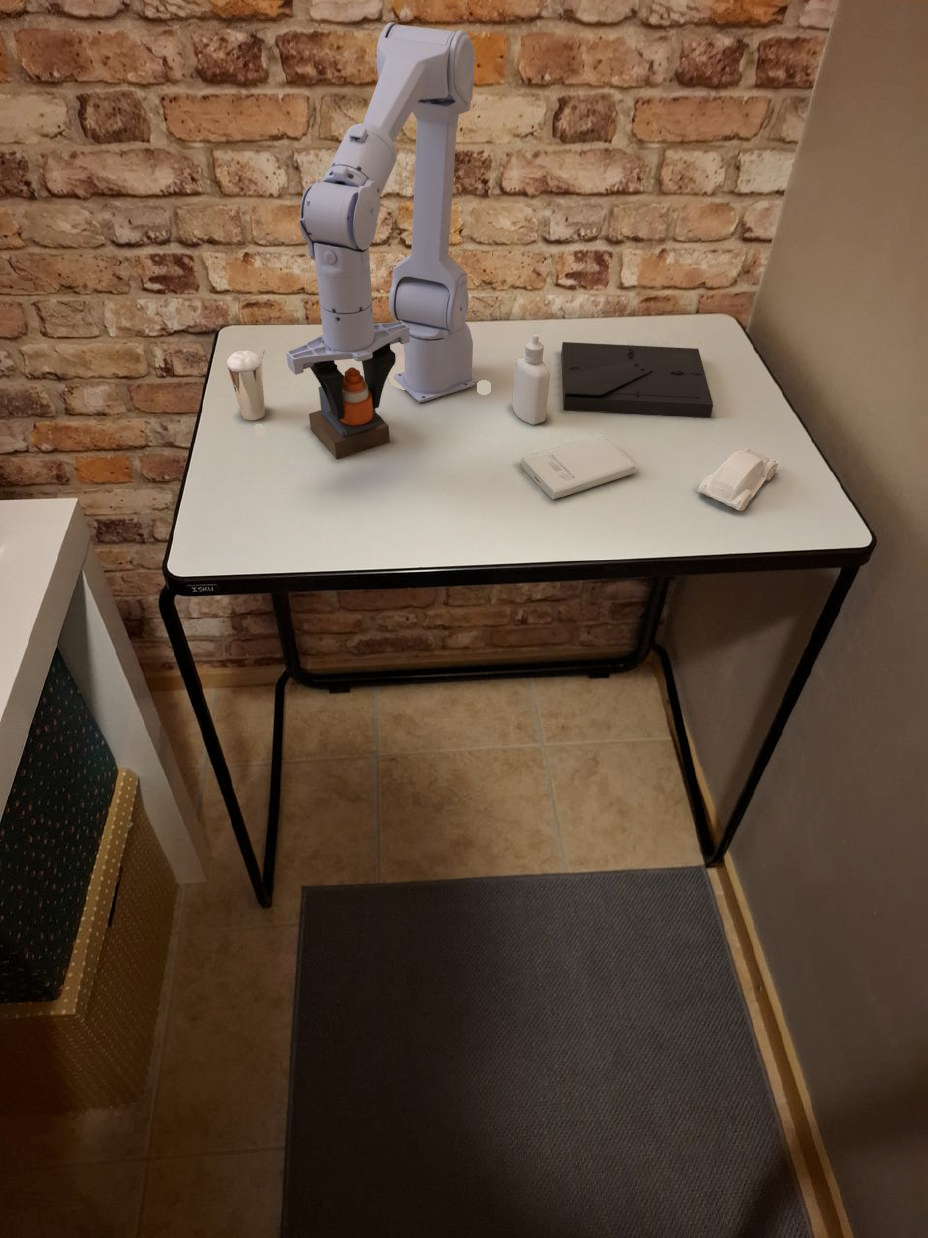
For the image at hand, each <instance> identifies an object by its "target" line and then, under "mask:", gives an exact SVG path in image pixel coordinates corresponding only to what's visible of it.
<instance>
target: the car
mask: <svg viewBox="0 0 928 1238" xmlns="http://www.w3.org/2000/svg"><path fill="white" fill-rule="evenodd" d="M778 466H779V463H778V462H777V460H775V459H773V458H772V459H771V458H769V457H767V456H765V455H763V454H760V453H758V452H755V451H753V450H751V449H750V448H748V447H745V448H741V449H739V450H734V452H733V453H731V454H730V455H729V456H728V457H727V458H726V459H725V460H724V462H722V463H721V464H720V466H719V467H718V468H717V469H716V470H715V472H714V473H713V472H710V473H708V474H707V475H706V476H705V478H704V479H703V480H702V481H701V483H700V485H699V486H698V488H697V491H696V492H698V493H701V494H703V495H705V496H707V497H708V498H710V497H711V498H712V499H714V500H715V501H718V502H719V503H723V504H725V505H726V506H729V507H731V508H733V509H735V510H737V511H738V512H740V511H741V512H743V511H744V510H745V509H746V508H747V507H748V504H749V503H750V501H751V500H752V499H753V498H754V496H755V495H756V494H757V492H758V491H759V489H760V488H761V487H762V485H764V482H765V481H768V482H769V481H770V480H771V479H772V478H773V476H774V475H775V472H776V469H778Z"/></svg>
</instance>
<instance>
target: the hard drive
mask: <svg viewBox="0 0 928 1238" xmlns="http://www.w3.org/2000/svg"><path fill="white" fill-rule="evenodd" d="M520 468H522V470H523V471H524V472H525V473H526V475H528V476H529V477H530V478H531V479H532V481H534V483H535V484H536V485H537V486H538V487H539V488H540V489H541V490H542V491H543V492H544V493H545V495H547V496H548V497H549V498H550V500H556V499H559V498H564V497H567V496H570V495H572V494H576V493H580V492H582V491H585V490H589V489H591V488H595V487H597V486H601V485H604V484H606V483H609V482H613V481H615V480H618V479H621V478H624V477H627V476H628V477H629V476H630V475H633V474H635V472H636V469H637V468H636V464H635V463H634V462H633V461H632V460H631V459H630V458H629V457H628V456H627V455H625V454H624V453H623V452H622V451H621V450H620V449H619V448H618V447H617V446H616V445H615V444H614V443H612V442H611V440H609V439H608V438H607V437H606V436H605V435H603V434H602V433H599V434H596V435H593V436H589V437H585V438H583V439H580V440H576V441H574V442H573V441H572V442H570V443H567V444H564V445H563V444H562V445H560V446H557V447H553V448H551V449H547V450H545V451H541V452H537V453H535V454H531V455H527V456H524V457H522V458H520Z"/></svg>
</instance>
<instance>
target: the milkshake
mask: <svg viewBox="0 0 928 1238" xmlns="http://www.w3.org/2000/svg"><path fill="white" fill-rule="evenodd" d="M265 351H266V350H265V349H264V351H263V352H262V355H261V356H260V355H259V354H258V353H256V352H254V351H251V350H237V351H234V352H232V353H231V355H230V356H229V357H228V358H227V361H226V366H227V369H228V373H229V376H230V378H231V379H230V380H231V383H232V386H233V389H234V393H235V396H236V399H237V403H238V407H239V410H240V414H241V417H242V418H243V419H245V420H246V421H257V420H261V419H262V418H264V417H265V416H266V405H265V403H266V402H265V393H264V392H265V391H264V380H263V379H264V378H263V377H264V375H263V374H264V373H263V359H264V355H265V353H266V352H265Z"/></svg>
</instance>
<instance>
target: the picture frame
mask: <svg viewBox="0 0 928 1238" xmlns="http://www.w3.org/2000/svg"><path fill="white" fill-rule="evenodd" d="M560 360H561V361H560V363H561V384H562V385H561V386H562V409H563V411H573V412H574V411H577V412H594V413H595V412H597V413H615V414H635V415H636V414H637V415H655V416H674V417H675V416H676V417H693V418H694V417H695V418H711V415H712V411H713V407H714V402H713V399H712V398H713V397H712V395H711V391H710V387H709V383H708V379H707V376H706V373H705V368H704V365H703V361H702V357H701V354H700V349H699V348H695V347H694V348H692V347H674V346H673V347H672V346H655V345H654V346H652V345H651V346H650V345H630V344H612V343H591V342H569V341H562V343H561V351H560Z"/></svg>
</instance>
